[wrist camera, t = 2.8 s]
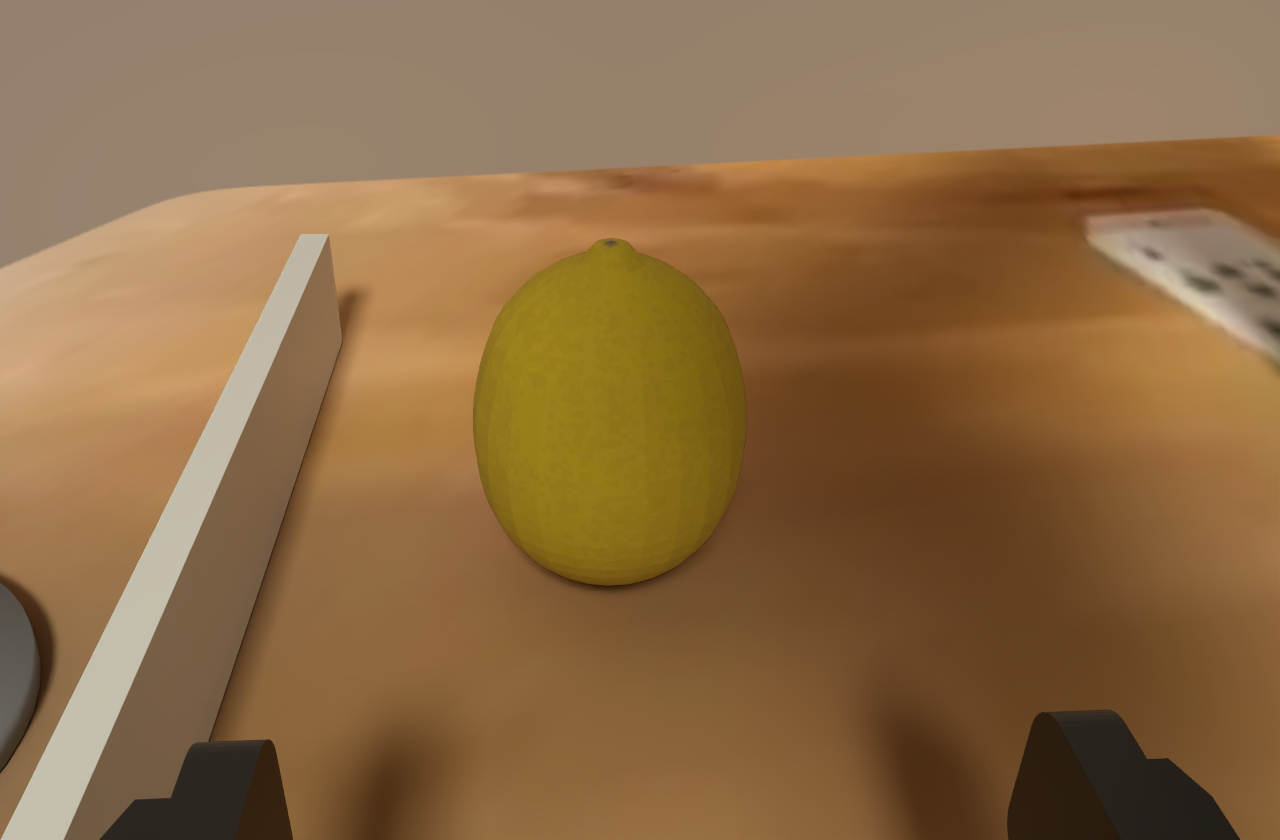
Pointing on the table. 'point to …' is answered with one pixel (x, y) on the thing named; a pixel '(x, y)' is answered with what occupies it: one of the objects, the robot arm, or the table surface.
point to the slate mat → (16, 673)
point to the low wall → (193, 575)
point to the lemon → (609, 416)
